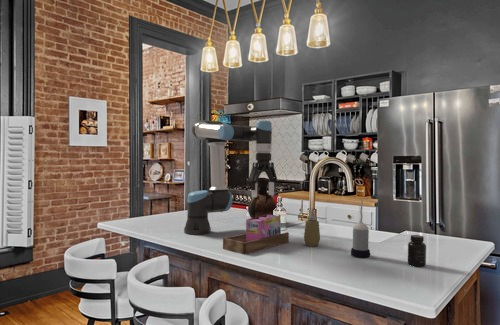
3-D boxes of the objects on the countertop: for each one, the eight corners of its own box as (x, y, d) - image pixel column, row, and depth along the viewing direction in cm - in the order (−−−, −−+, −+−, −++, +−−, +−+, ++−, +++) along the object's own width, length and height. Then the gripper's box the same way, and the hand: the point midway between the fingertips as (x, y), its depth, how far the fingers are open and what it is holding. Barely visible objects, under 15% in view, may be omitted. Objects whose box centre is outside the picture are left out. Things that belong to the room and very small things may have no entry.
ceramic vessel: (262, 219, 255) (262, 176, 254) (282, 222, 243) (283, 177, 242) (241, 223, 239) (242, 177, 239) (261, 226, 227) (262, 178, 227)
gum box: (269, 238, 196) (269, 213, 196) (282, 240, 192) (282, 214, 192) (245, 247, 175) (245, 219, 175) (259, 249, 171) (259, 221, 171)
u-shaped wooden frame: (222, 248, 172) (223, 238, 172) (267, 237, 196) (267, 228, 196) (244, 254, 163) (244, 243, 162) (288, 242, 187) (288, 232, 187)
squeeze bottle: (321, 244, 184) (321, 208, 183) (318, 248, 176) (319, 210, 176) (305, 242, 186) (305, 207, 186) (302, 246, 179) (302, 209, 178)
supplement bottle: (404, 262, 153) (404, 234, 153) (419, 262, 153) (420, 234, 153) (413, 267, 146) (413, 237, 146) (429, 267, 147) (429, 237, 146)
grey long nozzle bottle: (373, 256, 163) (374, 200, 162) (364, 259, 157) (365, 201, 157) (356, 252, 169) (357, 198, 168) (347, 255, 163) (348, 199, 163)
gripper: (253, 152, 166) (252, 198, 167) (284, 153, 186) (283, 194, 186) (241, 152, 171) (240, 197, 172) (272, 153, 190) (272, 193, 191)
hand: (263, 196), depth 179 cm, fingers open, 13 cm apart
